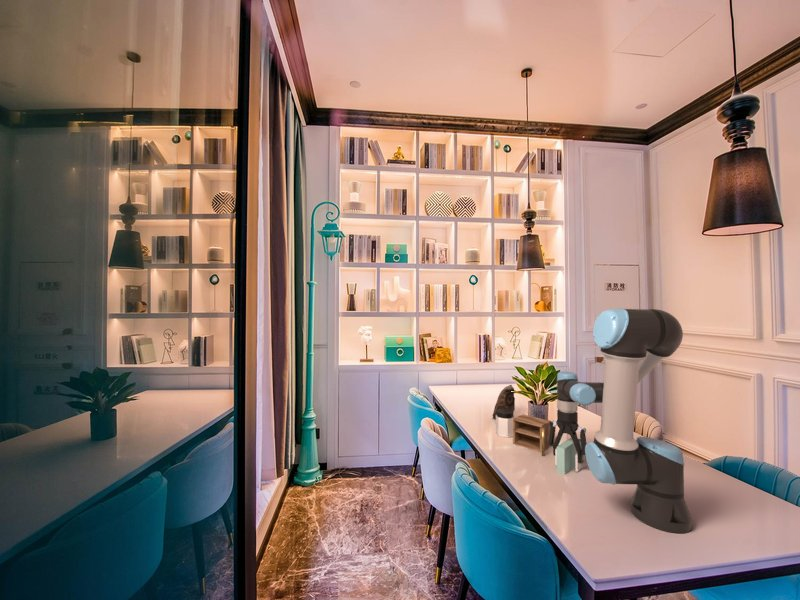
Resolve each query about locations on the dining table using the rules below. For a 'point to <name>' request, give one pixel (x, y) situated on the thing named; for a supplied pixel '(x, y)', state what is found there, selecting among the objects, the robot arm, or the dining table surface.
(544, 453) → the hinge pin
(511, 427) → the jar
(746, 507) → the dining table surface
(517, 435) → the cabinet
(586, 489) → the dining table surface
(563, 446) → the door
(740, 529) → the dining table surface
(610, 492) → the dining table surface
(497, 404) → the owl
